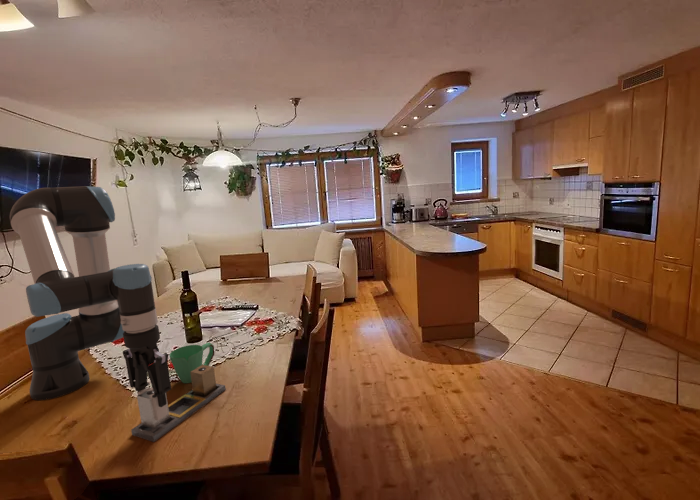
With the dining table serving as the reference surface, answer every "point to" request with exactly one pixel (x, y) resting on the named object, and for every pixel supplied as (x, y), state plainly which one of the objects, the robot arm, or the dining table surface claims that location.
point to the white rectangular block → (149, 409)
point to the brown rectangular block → (203, 380)
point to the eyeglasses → (230, 342)
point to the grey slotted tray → (177, 414)
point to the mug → (190, 359)
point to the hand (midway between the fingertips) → (154, 414)
